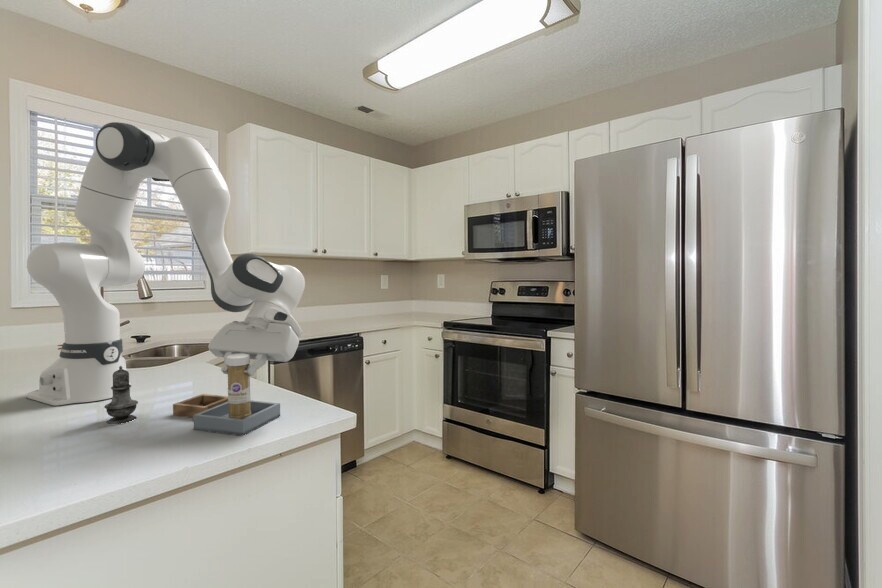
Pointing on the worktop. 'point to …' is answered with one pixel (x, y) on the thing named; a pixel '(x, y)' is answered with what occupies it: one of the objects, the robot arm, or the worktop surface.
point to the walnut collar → (198, 404)
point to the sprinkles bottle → (238, 386)
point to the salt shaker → (121, 399)
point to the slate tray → (221, 422)
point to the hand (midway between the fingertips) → (236, 373)
